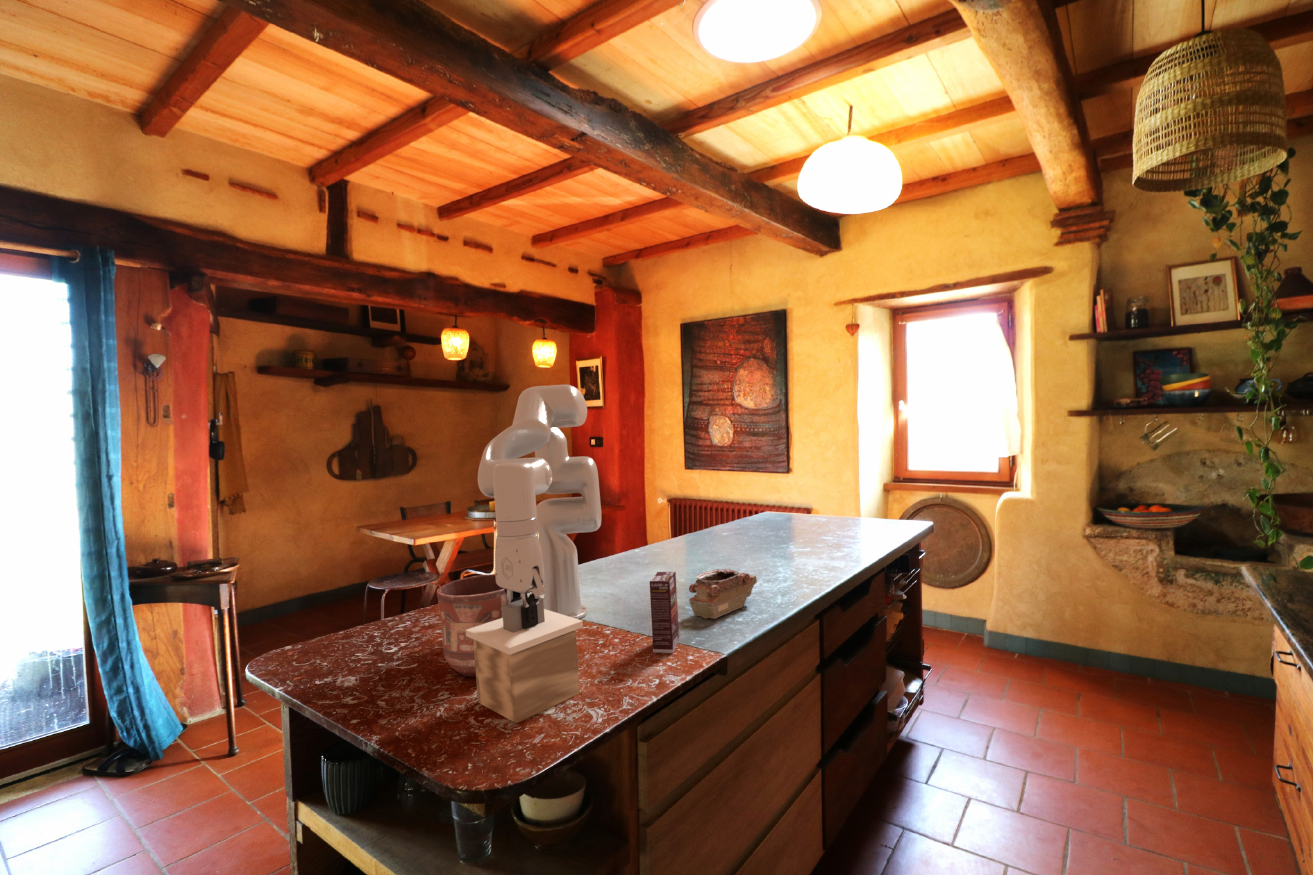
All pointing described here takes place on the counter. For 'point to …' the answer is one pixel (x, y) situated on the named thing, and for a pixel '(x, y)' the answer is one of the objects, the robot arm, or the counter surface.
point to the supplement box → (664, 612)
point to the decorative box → (720, 592)
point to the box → (527, 677)
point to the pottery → (467, 616)
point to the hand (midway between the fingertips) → (524, 623)
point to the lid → (515, 638)
